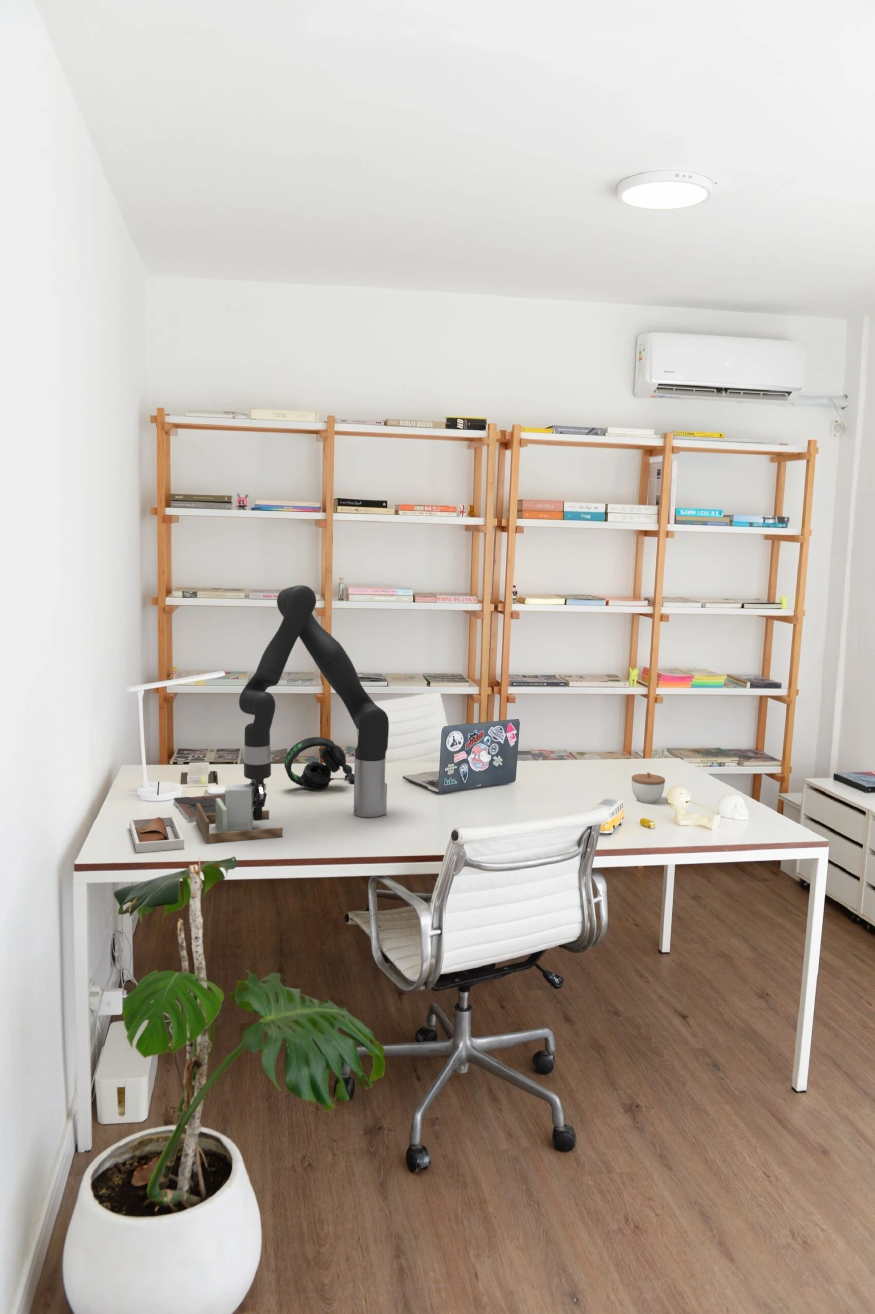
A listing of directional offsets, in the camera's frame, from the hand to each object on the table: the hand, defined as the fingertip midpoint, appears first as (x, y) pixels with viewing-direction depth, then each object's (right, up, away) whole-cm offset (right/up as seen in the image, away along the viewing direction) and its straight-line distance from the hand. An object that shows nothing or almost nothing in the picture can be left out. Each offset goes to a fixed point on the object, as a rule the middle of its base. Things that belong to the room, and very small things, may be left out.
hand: (257, 819), depth 274 cm
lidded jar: (+120, -1, +44) cm, 128 cm away
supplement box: (-5, -3, -2) cm, 6 cm away
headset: (+12, +3, +47) cm, 49 cm away
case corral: (-26, -3, -11) cm, 28 cm away
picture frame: (-18, -1, +17) cm, 25 cm away
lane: (-5, -3, -2) cm, 6 cm away
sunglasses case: (-27, -4, -12) cm, 29 cm away
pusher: (-10, -3, -4) cm, 11 cm away
